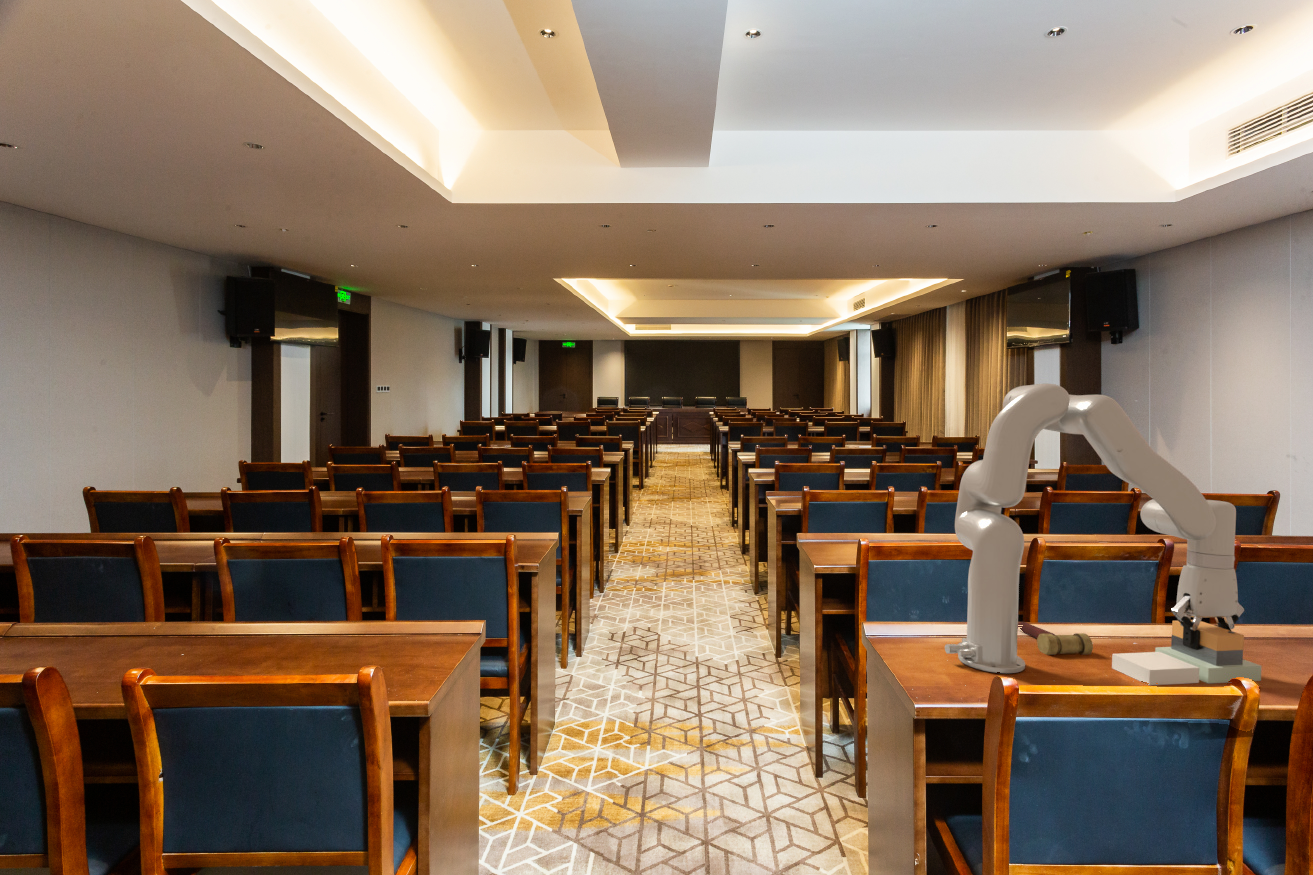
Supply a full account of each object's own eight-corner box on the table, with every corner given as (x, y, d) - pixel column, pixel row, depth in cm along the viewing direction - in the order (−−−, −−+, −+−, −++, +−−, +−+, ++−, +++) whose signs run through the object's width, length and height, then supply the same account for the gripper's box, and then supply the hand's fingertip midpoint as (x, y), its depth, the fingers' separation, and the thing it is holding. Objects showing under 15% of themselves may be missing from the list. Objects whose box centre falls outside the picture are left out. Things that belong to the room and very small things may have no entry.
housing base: (1171, 648, 144) (1171, 634, 144) (1195, 647, 145) (1196, 633, 145) (1216, 665, 134) (1216, 650, 134) (1242, 664, 135) (1243, 649, 135)
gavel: (995, 614, 168) (1034, 614, 169) (995, 633, 168) (1034, 632, 169) (1049, 636, 147) (1093, 636, 148) (1049, 657, 147) (1093, 657, 148)
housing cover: (1171, 634, 144) (1172, 619, 144) (1196, 633, 145) (1197, 618, 145) (1217, 650, 134) (1217, 634, 134) (1243, 649, 135) (1244, 633, 135)
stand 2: (1208, 683, 133) (1208, 668, 133) (1154, 661, 145) (1155, 647, 145) (1260, 680, 135) (1261, 665, 135) (1204, 658, 147) (1204, 645, 146)
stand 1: (1149, 685, 132) (1149, 669, 132) (1111, 667, 141) (1112, 653, 141) (1198, 682, 133) (1199, 667, 133) (1158, 665, 142) (1159, 651, 142)
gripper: (1228, 556, 144) (1225, 639, 145) (1156, 557, 142) (1153, 642, 142) (1265, 564, 136) (1261, 651, 137) (1189, 565, 134) (1185, 654, 135)
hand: (1206, 646), depth 140 cm, fingers open, 6 cm apart
